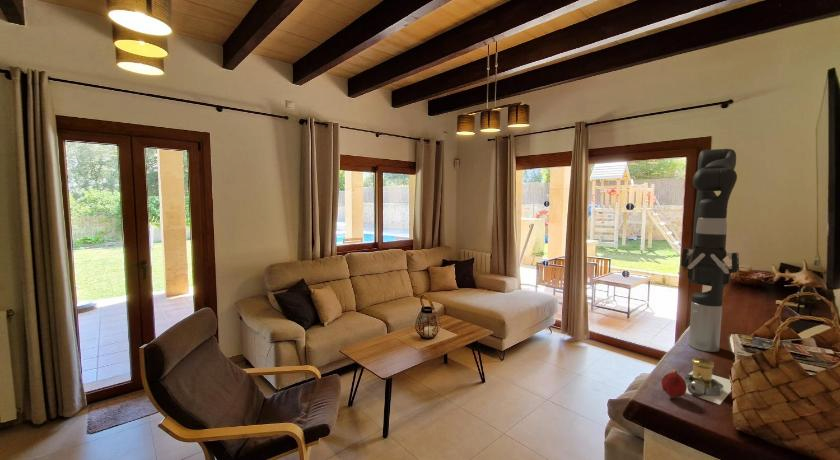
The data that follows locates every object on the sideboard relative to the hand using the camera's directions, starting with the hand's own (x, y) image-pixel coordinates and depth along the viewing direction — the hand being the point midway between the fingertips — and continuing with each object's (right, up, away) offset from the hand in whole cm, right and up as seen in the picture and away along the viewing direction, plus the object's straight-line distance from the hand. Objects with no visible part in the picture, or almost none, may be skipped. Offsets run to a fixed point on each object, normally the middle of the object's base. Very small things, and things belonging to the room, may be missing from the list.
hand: (707, 282), depth 117 cm
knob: (-10, -29, -10) cm, 32 cm away
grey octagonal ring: (-11, -29, -11) cm, 33 cm away
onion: (-21, -31, -14) cm, 40 cm away
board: (-7, -30, -8) cm, 32 cm away
